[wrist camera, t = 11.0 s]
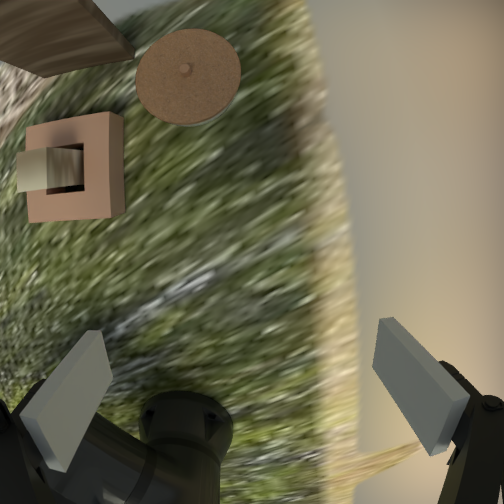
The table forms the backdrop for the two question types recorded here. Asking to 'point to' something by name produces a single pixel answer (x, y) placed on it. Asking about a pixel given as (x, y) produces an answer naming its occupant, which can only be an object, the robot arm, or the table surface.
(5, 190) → the table surface
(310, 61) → the table surface
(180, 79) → the lidded jar
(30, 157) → the peg
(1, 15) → the capped wooden panel
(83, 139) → the socket block
